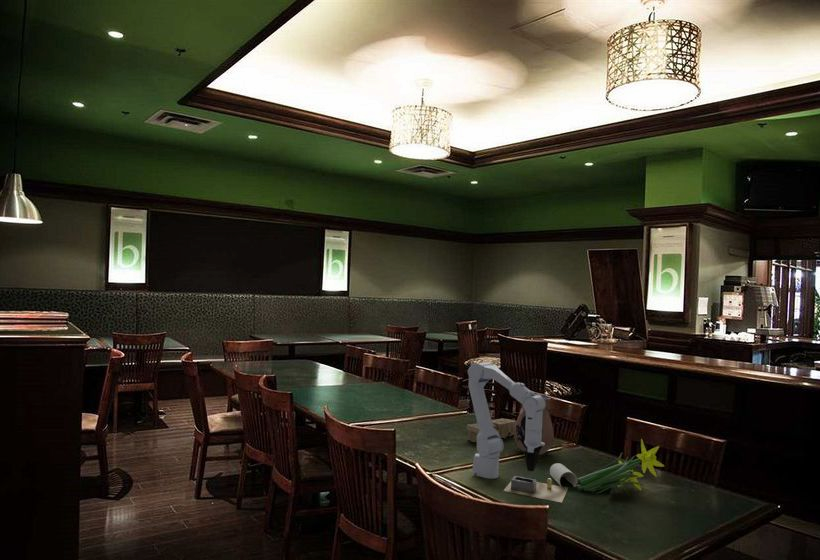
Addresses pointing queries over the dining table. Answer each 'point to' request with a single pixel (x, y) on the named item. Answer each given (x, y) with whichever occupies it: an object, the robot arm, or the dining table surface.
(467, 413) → the dining table surface
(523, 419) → the ceramic pitcher
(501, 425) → the tan block
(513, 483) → the dark grey open box
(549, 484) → the brass knob
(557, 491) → the birch board
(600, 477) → the daffodil flowers
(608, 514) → the dining table surface
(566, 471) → the mug
